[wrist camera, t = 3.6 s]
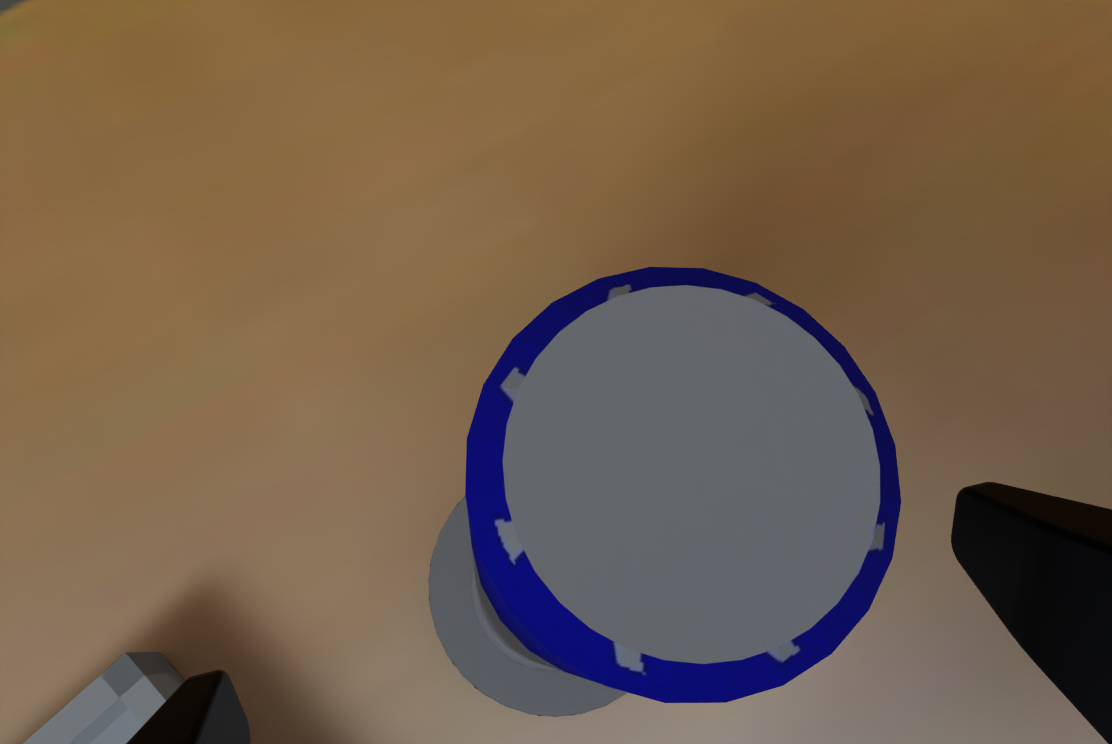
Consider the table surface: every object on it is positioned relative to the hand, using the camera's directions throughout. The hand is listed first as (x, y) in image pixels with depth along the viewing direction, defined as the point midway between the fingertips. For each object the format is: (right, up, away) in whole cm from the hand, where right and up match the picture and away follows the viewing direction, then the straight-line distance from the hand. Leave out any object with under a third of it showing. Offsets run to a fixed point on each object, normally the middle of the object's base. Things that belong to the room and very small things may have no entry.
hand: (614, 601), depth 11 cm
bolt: (-1, -2, +10) cm, 11 cm away
